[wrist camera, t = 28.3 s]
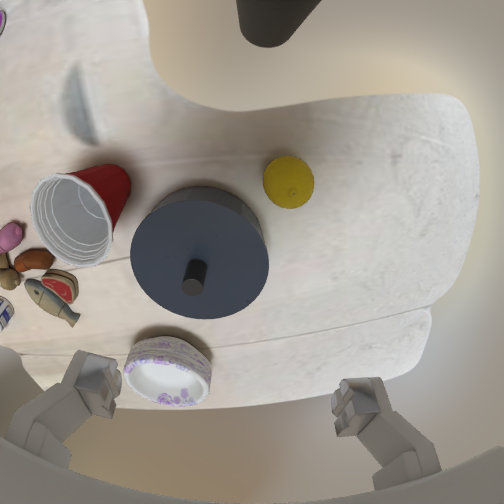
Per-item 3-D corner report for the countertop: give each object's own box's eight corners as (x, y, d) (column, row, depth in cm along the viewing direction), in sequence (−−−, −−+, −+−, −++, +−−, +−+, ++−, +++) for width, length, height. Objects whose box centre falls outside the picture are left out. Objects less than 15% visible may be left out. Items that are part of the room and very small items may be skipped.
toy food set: (-17, 259, 41) (-28, 270, 37) (-12, 193, 34) (-27, 203, 31) (77, 325, 49) (69, 340, 45) (97, 269, 42) (86, 284, 39)
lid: (129, 190, 31) (111, 208, 26) (279, 205, 32) (284, 226, 28) (138, 305, 39) (128, 331, 35) (257, 319, 41) (258, 347, 36)
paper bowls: (168, 382, 57) (162, 413, 50) (118, 338, 50) (105, 370, 43) (229, 364, 53) (227, 399, 46) (179, 312, 46) (169, 349, 40)
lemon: (275, 200, 37) (282, 229, 30) (252, 164, 35) (254, 184, 28) (314, 180, 36) (330, 203, 29) (293, 141, 33) (305, 156, 26)
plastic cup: (66, 189, 35) (16, 228, 25) (104, 129, 31) (50, 151, 21) (120, 237, 39) (84, 288, 29) (164, 182, 35) (132, 223, 25)
